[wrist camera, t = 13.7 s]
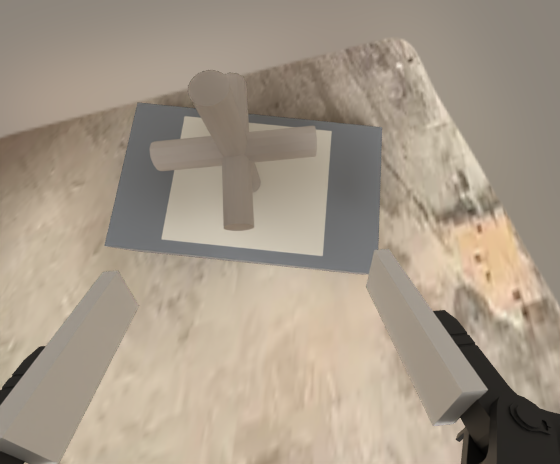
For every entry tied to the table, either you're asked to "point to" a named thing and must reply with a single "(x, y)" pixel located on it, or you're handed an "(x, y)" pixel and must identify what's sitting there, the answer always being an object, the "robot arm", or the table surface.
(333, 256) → the grey flat block
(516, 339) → the table surface
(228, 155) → the pipe connector
